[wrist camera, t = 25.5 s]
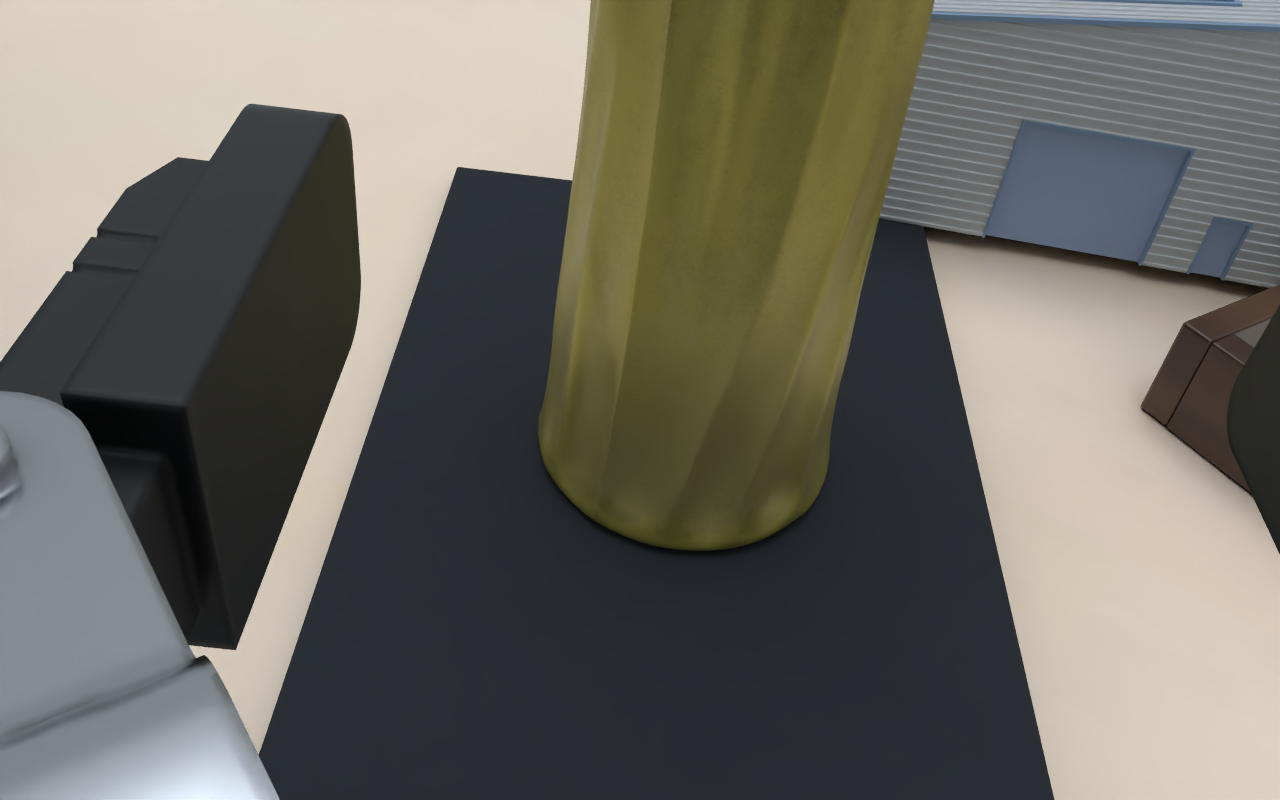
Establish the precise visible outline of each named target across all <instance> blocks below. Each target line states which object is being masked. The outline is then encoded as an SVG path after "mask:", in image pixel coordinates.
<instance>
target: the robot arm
mask: <svg viewBox="0 0 1280 800" xmlns="http://www.w3.org/2000/svg"><path fill="white" fill-rule="evenodd" d="M360 290H361V272H360V256H359V241H358V226H357V211H356V195H355V180H354V165H353V150H352V139H351V133H350V128H349V124H348V122H347V119H346V118H345V117H344V116H343V115H341V114H333V113H325V112H316V111H308V110H300V109H291V108H283V107H275V106H266V105H258V104H249V105H247V106H246V107H245V108H244V109H243V110H242V111H241V113H240V114H239V116H238V118H237V119H236V121H235V122H234V124H233V125H232V127H231V128H230V130H229V131H228V133H227V134H226V136H225V138H224V139H223V141H222V142H221V144H220V145H219V147H218V148H217V150H216V151H215V153H214V155H213V156H212V158H211V159H210V161H204V160H196V159H187V158H179V157H178V158H176V159H174V160H173V161H171V162H169V163H168V164H166V165H165V166H163V167H161V168H160V169H158V170H156V171H155V172H153V173H151V174H150V175H148V176H146V177H145V178H143V179H142V180H140V181H138V182H137V183H135V184H133V185H132V186H130V187H128V188H127V189H126V190H125V191H124V193H123V194H122V195H121V197H120V198H119V200H118V201H117V202H116V204H115V205H114V206H113V208H112V209H111V211H110V212H109V213H108V215H107V216H106V217H105V219H104V220H103V222H102V223H101V224H100V226H99V227H98V229H97V238H96V237H91V238H90V240H89V241H88V242H87V244H86V245H85V246H84V248H83V249H82V251H81V252H80V253H79V255H78V256H77V257H76V259H75V260H74V262H73V270H72V272H70V271H66V273H65V274H64V275H63V277H62V278H61V279H60V281H59V282H58V284H57V285H56V286H55V288H54V289H53V290H52V292H51V293H50V295H49V296H48V297H47V299H46V300H45V301H44V303H43V304H42V306H41V307H40V308H39V310H38V311H37V312H36V314H35V315H34V317H33V318H32V319H31V321H30V322H29V323H28V325H27V326H26V328H25V329H24V330H23V332H22V333H21V334H20V336H19V337H18V339H17V340H16V341H15V343H14V344H13V345H12V347H11V348H10V350H9V351H8V352H7V354H6V355H5V357H4V358H3V359H2V361H1V362H0V800H280V799H279V797H278V795H277V793H276V791H275V789H274V787H273V785H272V783H271V781H270V778H269V776H268V774H267V772H266V770H265V768H264V766H263V764H262V762H261V760H260V758H259V756H258V753H257V751H256V749H255V747H254V745H253V743H252V741H251V739H250V737H249V735H248V733H247V731H246V729H245V726H244V724H243V722H242V720H241V718H240V716H239V714H238V712H237V710H236V708H235V706H234V704H233V701H232V699H231V697H230V695H229V693H228V691H227V689H226V687H225V685H224V683H223V682H222V680H221V678H220V676H219V674H218V672H217V671H216V669H215V668H214V666H213V664H212V663H211V662H210V660H209V659H208V658H207V657H206V656H205V655H203V656H201V657H198V658H195V656H194V654H193V653H192V651H191V649H190V647H189V645H193V646H203V647H212V648H221V649H231V650H236V648H237V645H238V642H239V640H240V637H241V635H242V632H243V629H244V627H245V624H246V621H247V619H248V616H249V614H250V611H251V608H252V606H253V603H254V600H255V598H256V595H257V593H258V590H259V587H260V585H261V582H262V579H263V577H264V574H265V572H266V569H267V566H268V564H269V561H270V558H271V556H272V553H273V551H274V548H275V545H276V543H277V540H278V537H279V535H280V532H281V529H282V527H283V524H284V522H285V519H286V516H287V514H288V511H289V508H290V506H291V503H292V501H293V498H294V495H295V493H296V490H297V487H298V485H299V482H300V480H301V477H302V474H303V472H304V469H305V466H306V464H307V461H308V459H309V456H310V453H311V451H312V448H313V445H314V443H315V440H316V438H317V435H318V432H319V430H320V427H321V424H322V422H323V419H324V417H325V414H326V411H327V409H328V406H329V403H330V401H331V398H332V396H333V393H334V390H335V388H336V385H337V382H338V380H339V377H340V375H341V372H342V369H343V367H344V364H345V361H346V359H347V356H348V354H349V351H350V348H351V345H352V342H353V338H354V335H355V330H356V325H357V319H358V313H359V304H360ZM1227 434H1228V440H1229V444H1230V448H1231V450H1232V453H1233V455H1234V457H1235V459H1236V461H1237V464H1238V466H1239V468H1240V470H1241V472H1242V474H1243V476H1244V479H1245V481H1246V483H1247V485H1248V487H1249V489H1250V491H1251V494H1252V496H1253V498H1254V500H1255V502H1256V504H1257V506H1258V509H1259V511H1260V513H1261V515H1262V517H1263V519H1264V521H1265V524H1266V526H1267V528H1268V530H1269V532H1270V534H1271V536H1272V539H1273V541H1274V543H1275V545H1276V547H1277V549H1278V551H1279V554H1280V305H1279V306H1278V308H1277V310H1276V312H1275V313H1274V315H1273V317H1272V318H1271V320H1270V322H1269V324H1268V325H1267V327H1266V329H1265V330H1264V332H1263V334H1262V336H1261V337H1260V339H1259V341H1258V342H1257V344H1256V346H1255V348H1254V349H1253V351H1252V353H1251V354H1250V356H1249V358H1248V360H1247V361H1246V363H1245V365H1244V366H1243V368H1242V370H1241V372H1240V373H1239V375H1238V377H1237V379H1236V381H1235V383H1234V386H1233V389H1232V391H1231V395H1230V399H1229V404H1228V410H1227Z"/></svg>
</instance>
